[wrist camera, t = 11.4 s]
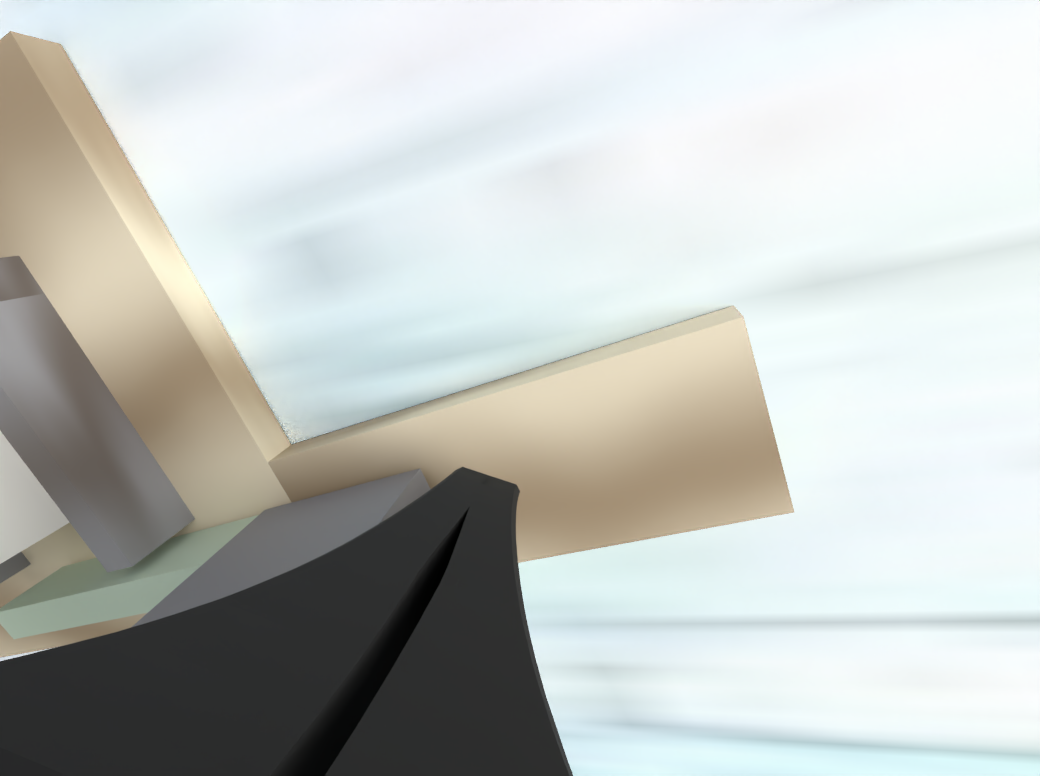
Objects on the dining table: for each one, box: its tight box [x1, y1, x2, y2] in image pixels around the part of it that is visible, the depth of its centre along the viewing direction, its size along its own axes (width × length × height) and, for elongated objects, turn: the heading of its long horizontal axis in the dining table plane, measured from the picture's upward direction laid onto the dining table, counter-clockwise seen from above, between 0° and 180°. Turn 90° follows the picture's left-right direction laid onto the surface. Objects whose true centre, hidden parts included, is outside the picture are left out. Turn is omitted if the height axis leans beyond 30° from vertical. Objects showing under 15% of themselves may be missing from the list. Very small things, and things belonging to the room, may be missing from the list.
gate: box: [0, 468, 430, 639], centre depth 12 cm, size 1×14×4 cm, turn 112°
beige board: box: [0, 31, 794, 657], centre depth 13 cm, size 15×30×3 cm, turn 112°
